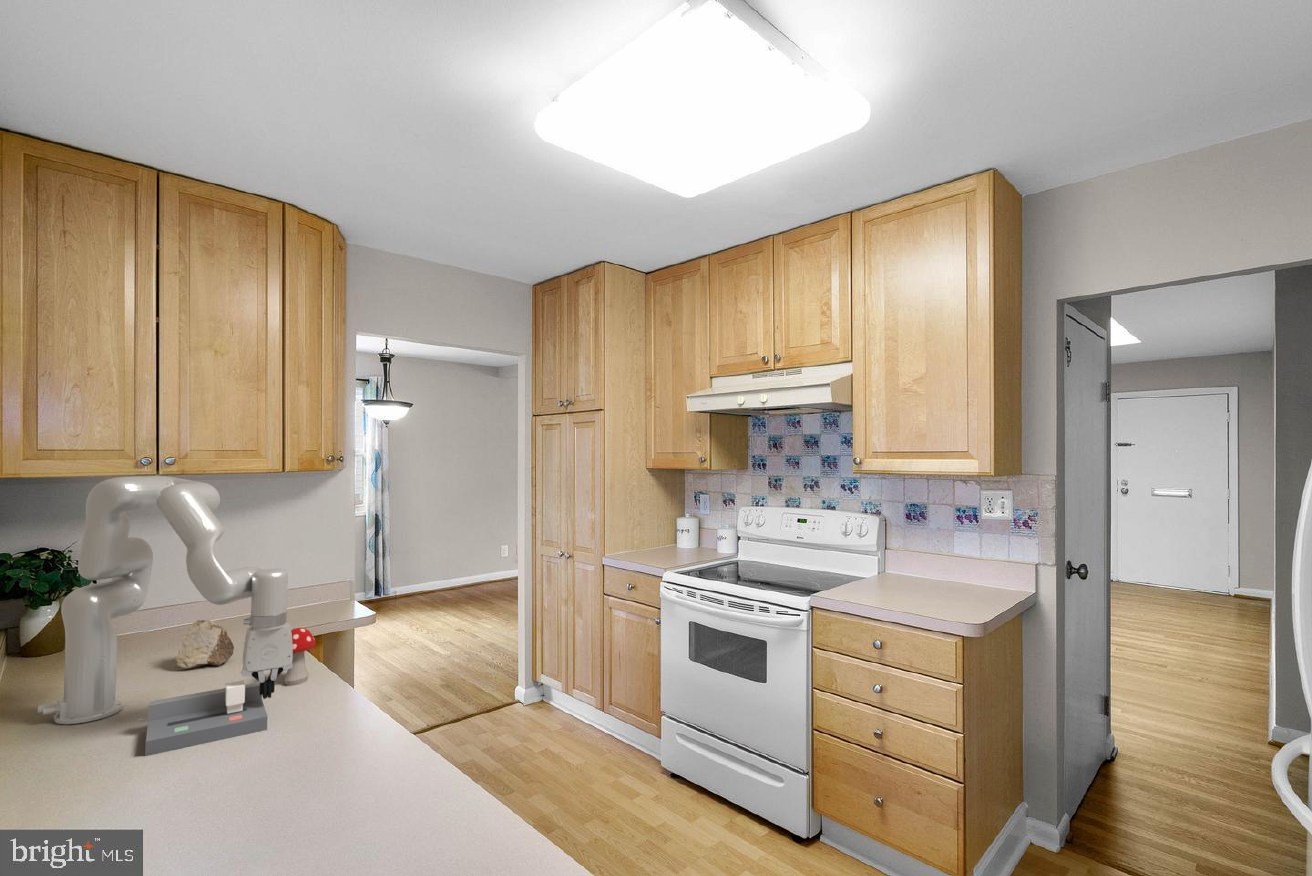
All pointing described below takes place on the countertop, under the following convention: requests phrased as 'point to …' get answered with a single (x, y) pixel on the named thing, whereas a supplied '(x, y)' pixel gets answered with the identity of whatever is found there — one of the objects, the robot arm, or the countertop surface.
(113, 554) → the robot arm
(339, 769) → the countertop surface
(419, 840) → the countertop surface
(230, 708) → the knob
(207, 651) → the rock
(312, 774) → the countertop surface
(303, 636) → the decorative mushroom
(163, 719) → the panel
